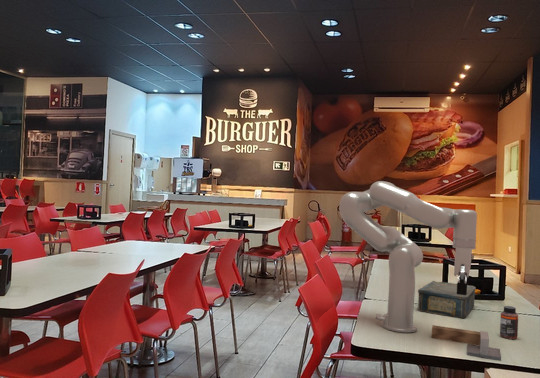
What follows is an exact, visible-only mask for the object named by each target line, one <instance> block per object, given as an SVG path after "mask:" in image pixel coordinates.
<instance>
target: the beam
mask: <svg viewBox="0 0 540 378" xmlns="http://www.w3.org/2000/svg"><path fill="white" fill-rule="evenodd" d="M431 339H436V340H442V341H447V342H453V343H454V342H455V343H460V344H461V343H462V344H473V345H479V346H480V331H475V330H469V329H462V328H455V327H447V326H443V325H442V326H441V325H432V326H431Z"/></svg>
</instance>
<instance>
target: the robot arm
mask: <svg viewBox="0 0 540 378" xmlns="http://www.w3.org/2000/svg"><path fill="white" fill-rule="evenodd" d="M338 206H339V209H338V210H339V214H340V217H341V219H342V220H343V222H344V223H345V224H346V226H347V227H348V228H350V229H351V231H354V232H355V233H356V234H357V235H358V236H359V237H360V238H361V239H363V240H364V241H365V242H367V244H369V245H370V246H371V247H372V248H373V249H374V250H375V251H377V252H381V253H382V252H383V253H384V252H387V253H389V256H388V269H389V271H388V272H389V276H388V277H389V280H388V295H387V296H388V297H387V313H386V314H385V313H384V314H380V313H375V319H376V320H378V321H383V322H382V327H383V328H384V329H386V330H388V331H392V332H397V333H407V334H408V333H415V332H417V330H418V327H417V326H416V325H415V324H414V309H415V296H416V295H415V294H416V293H415V292H416V291H415V290H416V272H415V268H417V267H418V266H420V265H421V264H422V262H423V259H424V254H423V251H422V249H421V248H420V246H418V245H417V244H416V243H415V242H414V241H412V240H411V239H410V238H409V237H407V236H406V235H404V234H403V233H402V232H400V230H398V229H396V228H395V227H391V226H383V225H381V224H380V223H379V222H377V221H375V220H374V219H373V218H372V217H371V216H369V215H368V214H366V212H370V211H374V210H376V209H378V208H380V207H383V206H385V207H388V208H389V209H392V210H394V211H396V212H399V213H401V214H404V215H405V216H407V217H409V218H411V219H414V220H415V221H417V222H420V223H422V224H424V225H426V226H429V227H432V228H434V229H438V230H439V229H451V228H453V233H452V234H453V235H452V248H454V249H455V254H454V270H453V271H454V272H453V275H454V276H455V277H457V283H456V284H457V294H459V295H467V285H468V278H469V276H470V272H471V265H472V252H473V250H476V243H477V241H476V240H477V224H478V223H477V219H478V214H477V211H475V210H474V209H464V208H463V209H454V208H449V207H441V206H437V205H434V204H431V203H429V202H427V201H424V200H422V199H420V198H419V197H417V195H416V194H414V193H412V192H410V191H409V190H406V189H403V188H401V187H398V186H396V185H395V184H394V183H391V182H388V181H384V180H378V181H375V182H373V183H372V184H371V185H370V187H369V189H366V190H364V191H350V192H346V193H344V195H342V196H341V199H340V201H339V205H338Z"/></svg>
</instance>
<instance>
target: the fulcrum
mask: <svg viewBox="0 0 540 378" xmlns="http://www.w3.org/2000/svg"><path fill="white" fill-rule="evenodd" d="M479 332H480V345H473V344H467V343H466V344H467V345H466V355H467V356H471V357H477V358H483V359H487V360H488V359H489V360H494V361H495V360H496V361H499V362H500V361H502V354H501V350H500V348H496V347H489V345H490V344H489V343H490V338H489V337H490V336H489V331H485V330H484V331H483V330H480V331H479Z"/></svg>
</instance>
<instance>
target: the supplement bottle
mask: <svg viewBox="0 0 540 378" xmlns="http://www.w3.org/2000/svg"><path fill="white" fill-rule="evenodd" d="M516 309H517V308H516V307H515V306H511V305H504V306H503V311H502V312H501V313H500V322H499V323H500V324H499V325H500V327H499V336H500V337H501V338H504V339H506V340H507V339H508V340H516V339H517V338H518V331H519V314H518V313H517V312H516V311H517V310H516Z"/></svg>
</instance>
